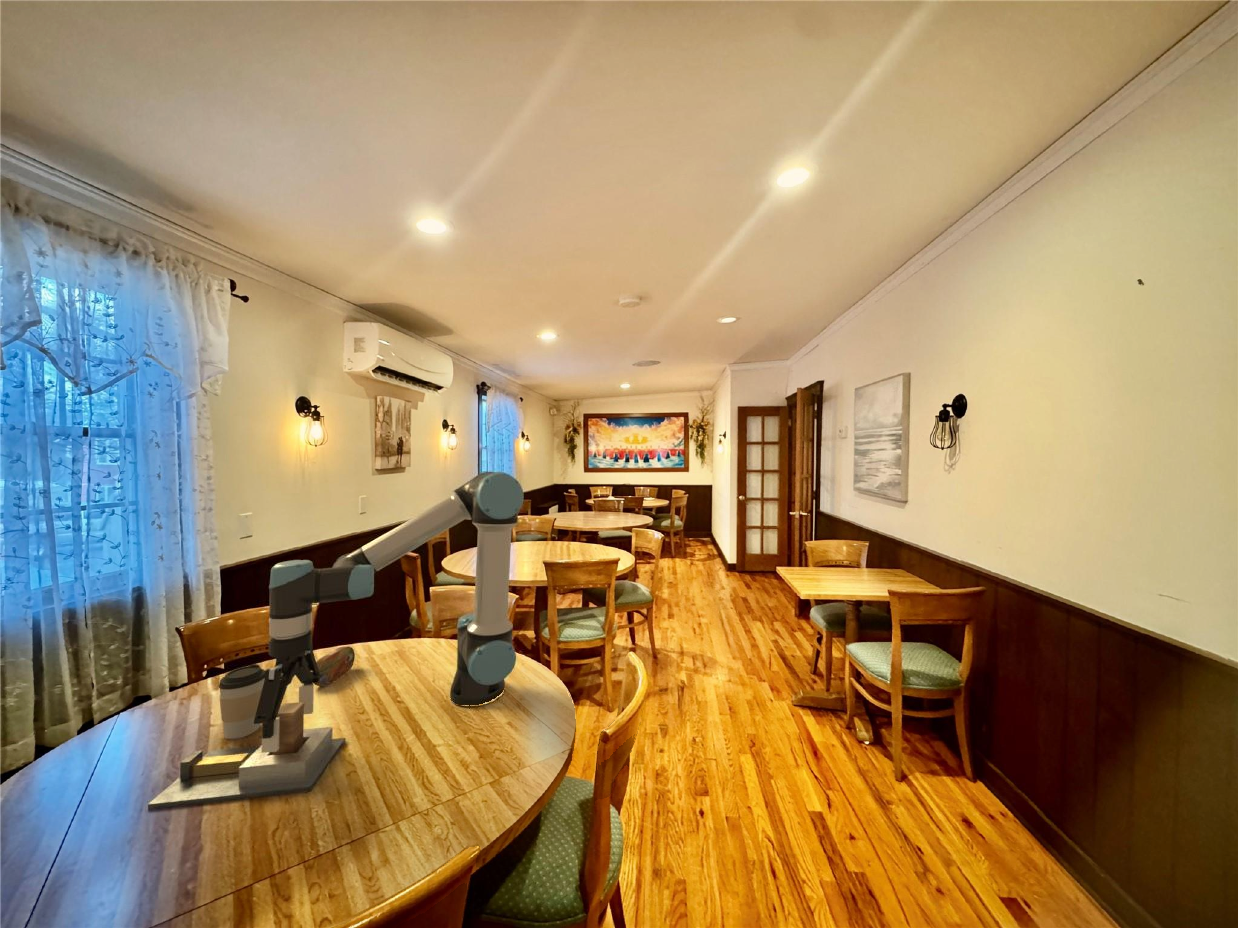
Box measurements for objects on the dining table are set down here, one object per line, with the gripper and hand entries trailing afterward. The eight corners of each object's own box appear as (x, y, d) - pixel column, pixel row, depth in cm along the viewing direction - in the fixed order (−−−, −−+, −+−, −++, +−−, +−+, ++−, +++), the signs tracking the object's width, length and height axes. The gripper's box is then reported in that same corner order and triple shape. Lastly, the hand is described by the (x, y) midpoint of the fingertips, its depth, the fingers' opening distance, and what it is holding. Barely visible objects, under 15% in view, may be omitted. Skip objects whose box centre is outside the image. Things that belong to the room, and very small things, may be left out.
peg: (303, 756, 97) (304, 701, 97) (293, 769, 93) (294, 712, 93) (282, 758, 96) (283, 703, 96) (271, 771, 92) (271, 714, 92)
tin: (319, 691, 126) (319, 662, 127) (309, 691, 127) (309, 662, 127) (355, 668, 141) (355, 642, 142) (346, 667, 142) (346, 641, 142)
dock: (345, 741, 104) (345, 720, 104) (310, 791, 88) (310, 766, 88) (210, 754, 99) (210, 732, 99) (148, 809, 83) (148, 783, 83)
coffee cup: (237, 744, 102) (238, 680, 103) (207, 739, 104) (208, 676, 104) (274, 722, 111) (275, 663, 111) (246, 717, 113) (247, 660, 113)
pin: (250, 762, 95) (250, 745, 95) (238, 773, 91) (239, 756, 91) (193, 767, 93) (194, 751, 93) (180, 779, 89) (180, 762, 89)
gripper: (302, 614, 106) (301, 701, 106) (231, 659, 82) (229, 772, 82) (336, 613, 108) (335, 698, 107) (276, 656, 83) (274, 767, 83)
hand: (289, 730), depth 94 cm, fingers open, 13 cm apart
